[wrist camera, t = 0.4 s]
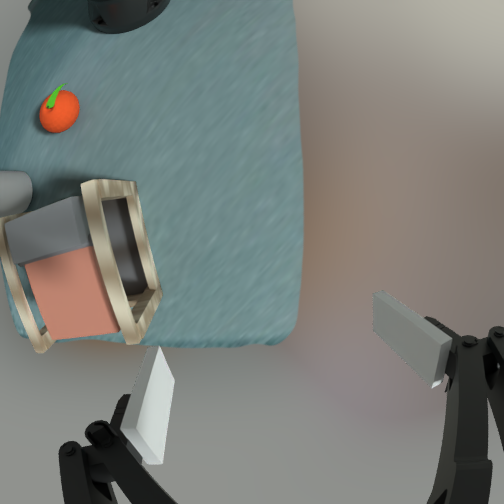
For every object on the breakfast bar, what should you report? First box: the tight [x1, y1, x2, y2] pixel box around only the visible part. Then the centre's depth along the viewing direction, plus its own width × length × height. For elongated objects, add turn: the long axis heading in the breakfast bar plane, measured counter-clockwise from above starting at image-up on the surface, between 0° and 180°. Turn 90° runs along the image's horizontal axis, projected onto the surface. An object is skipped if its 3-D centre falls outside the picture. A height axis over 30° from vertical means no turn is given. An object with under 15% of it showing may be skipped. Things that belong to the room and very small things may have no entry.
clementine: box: [39, 83, 80, 133], centre depth 30 cm, size 8×7×7 cm
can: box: [0, 171, 33, 217], centre depth 29 cm, size 8×8×12 cm
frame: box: [0, 179, 163, 353], centre depth 32 cm, size 18×17×15 cm
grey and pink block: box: [4, 196, 121, 340], centre depth 27 cm, size 16×13×5 cm
